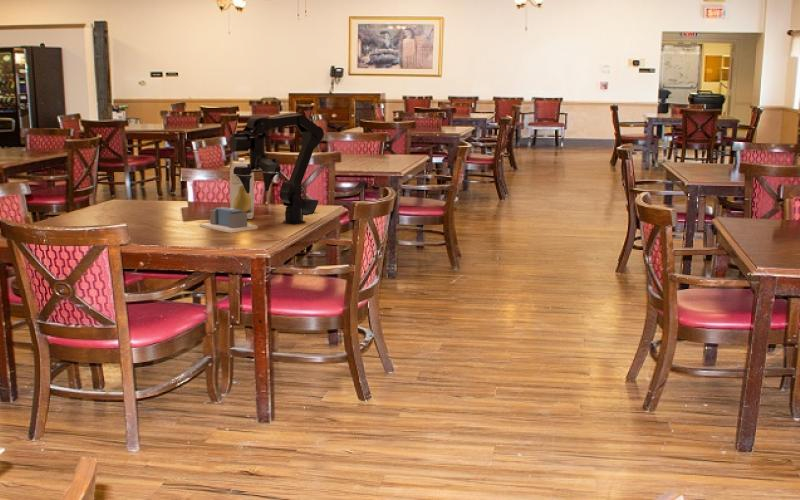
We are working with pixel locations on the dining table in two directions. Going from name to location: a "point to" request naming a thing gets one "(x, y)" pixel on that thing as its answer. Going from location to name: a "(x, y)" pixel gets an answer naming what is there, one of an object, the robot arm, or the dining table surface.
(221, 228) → the plate
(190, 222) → the dining table surface
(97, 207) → the dining table surface
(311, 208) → the black tapered bin
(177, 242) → the dining table surface
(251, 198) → the juice carton
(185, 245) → the dining table surface
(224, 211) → the block
